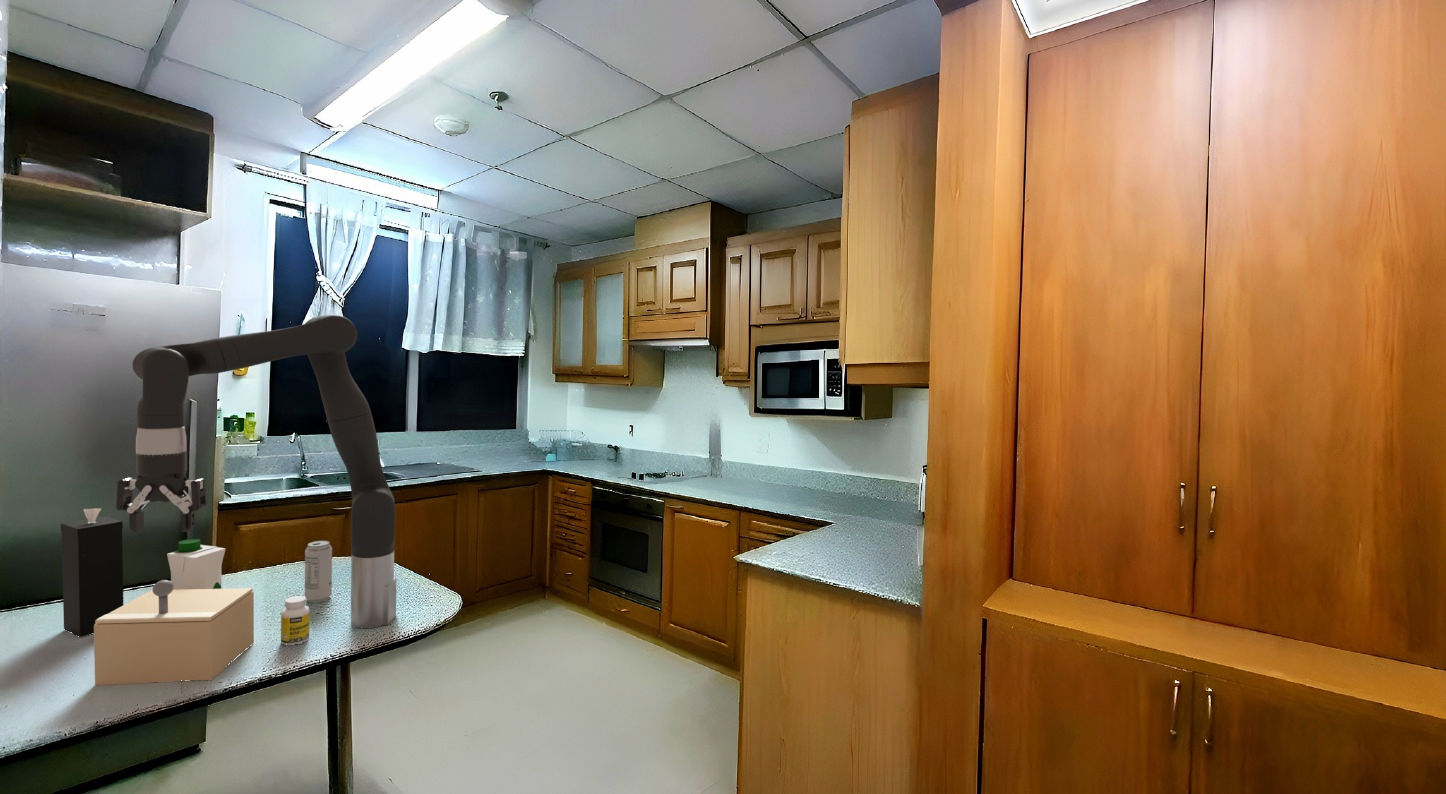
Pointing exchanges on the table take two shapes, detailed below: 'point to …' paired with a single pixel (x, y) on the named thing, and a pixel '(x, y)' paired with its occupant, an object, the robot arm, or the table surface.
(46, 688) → the table surface
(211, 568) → the milk carton
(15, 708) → the table surface
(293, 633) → the supplement bottle
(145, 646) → the carton
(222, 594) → the flap
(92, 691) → the table surface
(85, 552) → the tall black box
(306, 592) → the energy drink can
